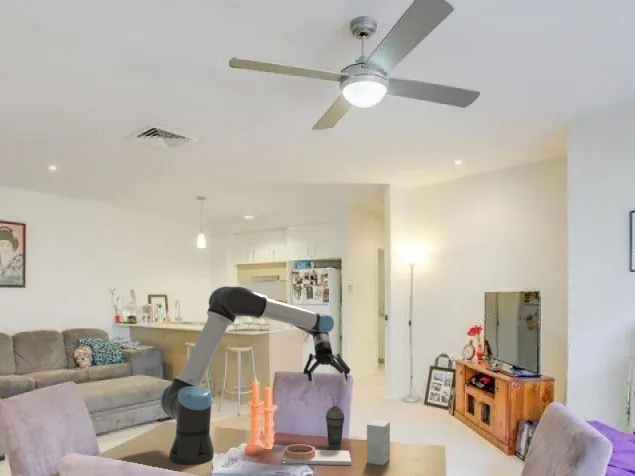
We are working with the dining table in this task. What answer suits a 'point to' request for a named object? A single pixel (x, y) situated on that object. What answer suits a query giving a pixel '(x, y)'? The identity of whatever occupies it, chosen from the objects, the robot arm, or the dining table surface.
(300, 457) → the terracotta ring holder
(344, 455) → the pale grey board
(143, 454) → the dining table surface
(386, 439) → the small box
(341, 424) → the beverage cup
